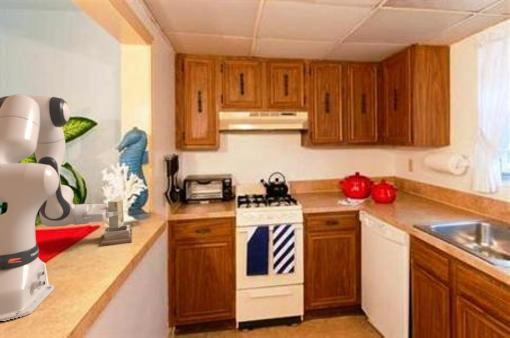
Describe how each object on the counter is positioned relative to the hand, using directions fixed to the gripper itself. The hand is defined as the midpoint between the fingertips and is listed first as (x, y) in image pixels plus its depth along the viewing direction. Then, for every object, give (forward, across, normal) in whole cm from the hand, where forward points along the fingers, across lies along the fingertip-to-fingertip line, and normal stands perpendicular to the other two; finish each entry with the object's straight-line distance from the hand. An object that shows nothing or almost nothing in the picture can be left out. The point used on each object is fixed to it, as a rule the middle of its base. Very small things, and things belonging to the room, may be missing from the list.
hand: (118, 211), depth 143 cm
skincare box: (-1, 0, +7) cm, 7 cm away
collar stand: (-1, 0, +13) cm, 13 cm away
